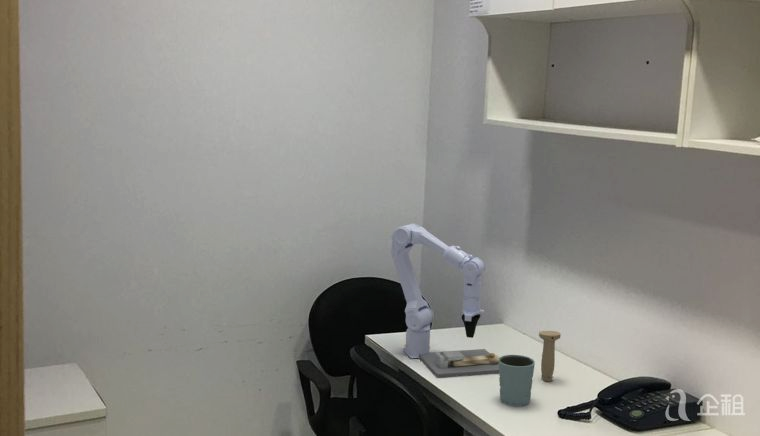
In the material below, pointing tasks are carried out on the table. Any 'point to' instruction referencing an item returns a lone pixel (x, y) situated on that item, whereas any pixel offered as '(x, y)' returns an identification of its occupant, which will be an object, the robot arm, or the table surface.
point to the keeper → (447, 358)
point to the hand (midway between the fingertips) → (470, 336)
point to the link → (476, 360)
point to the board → (460, 370)
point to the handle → (548, 353)
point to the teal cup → (515, 379)
